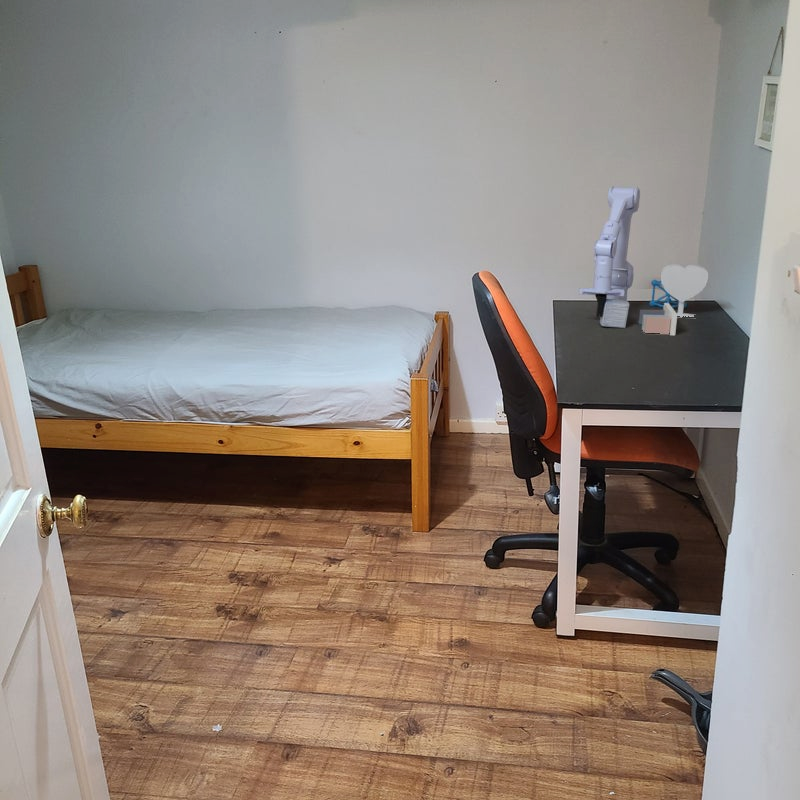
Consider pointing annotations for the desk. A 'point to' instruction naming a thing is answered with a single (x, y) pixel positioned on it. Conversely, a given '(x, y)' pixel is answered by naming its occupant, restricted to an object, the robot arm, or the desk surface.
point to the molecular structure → (667, 300)
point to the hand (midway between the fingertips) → (599, 316)
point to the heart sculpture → (683, 282)
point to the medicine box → (614, 313)
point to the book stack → (659, 320)
